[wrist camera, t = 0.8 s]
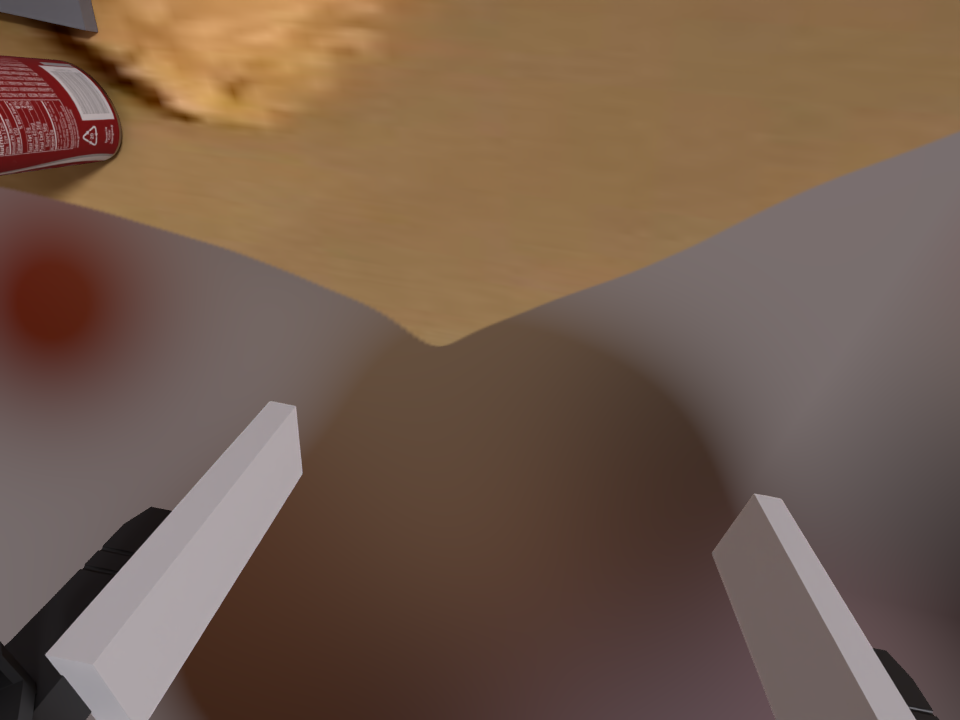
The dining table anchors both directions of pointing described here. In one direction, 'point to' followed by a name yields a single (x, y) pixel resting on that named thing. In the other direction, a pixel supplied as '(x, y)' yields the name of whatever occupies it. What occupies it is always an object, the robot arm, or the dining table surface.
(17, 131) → the soda can
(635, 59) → the dining table surface
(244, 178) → the dining table surface
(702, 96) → the dining table surface
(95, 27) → the board
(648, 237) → the dining table surface
